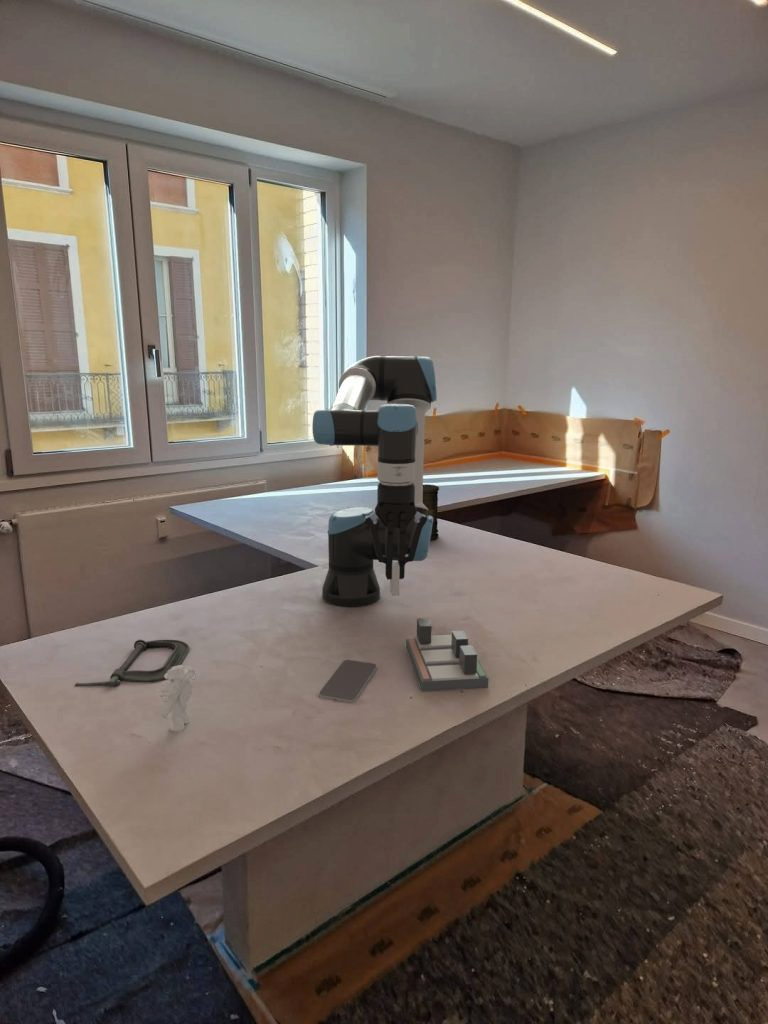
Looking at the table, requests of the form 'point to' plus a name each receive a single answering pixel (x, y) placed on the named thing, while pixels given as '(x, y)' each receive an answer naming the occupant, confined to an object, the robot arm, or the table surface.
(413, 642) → the panel
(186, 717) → the hat wearing toy figure
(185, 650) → the c clamp
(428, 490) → the container
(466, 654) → the block
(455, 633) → the block
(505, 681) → the table surface
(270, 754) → the table surface
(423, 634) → the block
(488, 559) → the table surface
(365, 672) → the smartphone
